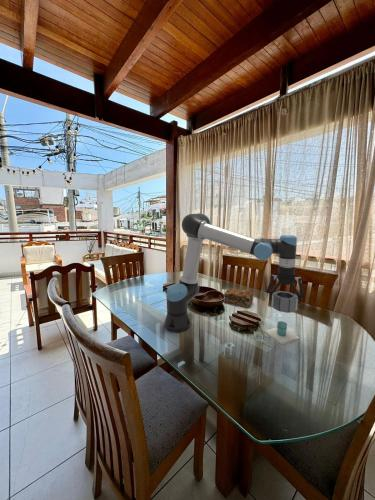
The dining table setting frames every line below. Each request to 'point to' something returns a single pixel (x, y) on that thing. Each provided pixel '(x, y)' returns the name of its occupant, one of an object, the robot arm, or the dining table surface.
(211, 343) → the dining table surface
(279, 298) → the ring
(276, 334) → the block
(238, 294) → the bread
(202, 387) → the dining table surface
